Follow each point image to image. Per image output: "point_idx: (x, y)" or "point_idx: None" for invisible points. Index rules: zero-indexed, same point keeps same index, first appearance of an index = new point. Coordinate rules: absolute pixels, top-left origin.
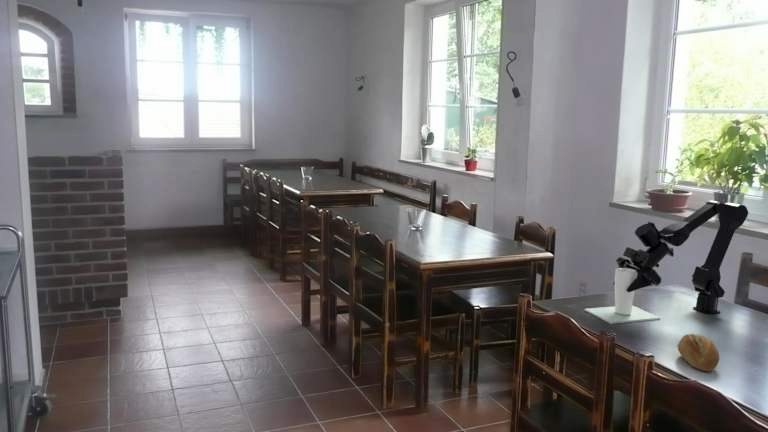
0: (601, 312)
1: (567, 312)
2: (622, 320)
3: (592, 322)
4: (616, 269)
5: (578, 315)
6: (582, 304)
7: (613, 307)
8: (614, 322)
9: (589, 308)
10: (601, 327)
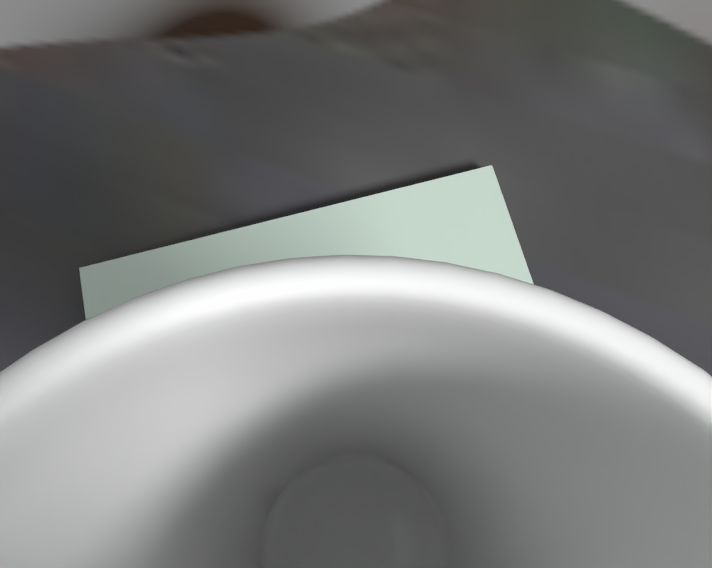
0: None
1: (417, 7)
2: None
3: (141, 124)
4: (568, 340)
5: (335, 71)
6: (704, 227)
7: None
8: (88, 311)
9: (509, 219)
10: (8, 152)
